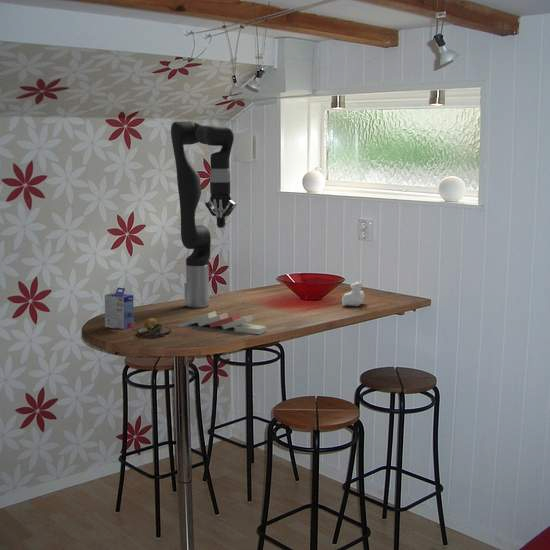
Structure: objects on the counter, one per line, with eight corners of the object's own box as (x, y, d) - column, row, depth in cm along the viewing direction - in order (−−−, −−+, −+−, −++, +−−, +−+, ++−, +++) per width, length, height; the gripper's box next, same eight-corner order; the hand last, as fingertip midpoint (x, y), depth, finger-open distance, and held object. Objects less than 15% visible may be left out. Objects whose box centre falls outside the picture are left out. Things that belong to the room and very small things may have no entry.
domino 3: (222, 324, 270) (244, 317, 265) (229, 321, 274) (252, 314, 269) (223, 329, 270) (246, 322, 265) (231, 326, 274) (253, 319, 269)
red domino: (209, 323, 272) (231, 316, 267) (217, 320, 277) (239, 313, 272) (210, 328, 272) (233, 321, 267) (218, 325, 277) (240, 318, 272)
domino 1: (186, 320, 277) (207, 313, 272) (194, 317, 282) (215, 310, 277) (187, 325, 277) (209, 318, 272) (196, 322, 282) (217, 315, 277)
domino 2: (197, 322, 275) (219, 315, 270) (205, 319, 279) (227, 312, 274) (199, 326, 275) (220, 319, 270) (207, 323, 279) (228, 317, 274)
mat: (175, 327, 276) (175, 325, 276) (193, 321, 286) (193, 320, 286) (244, 336, 263) (244, 334, 263) (260, 329, 272) (260, 328, 272)
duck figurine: (344, 312, 312) (356, 293, 305) (334, 299, 316) (346, 280, 309) (364, 308, 319) (377, 290, 312) (354, 295, 323) (366, 277, 316)
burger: (174, 337, 263) (174, 316, 262) (140, 340, 259) (139, 318, 258) (167, 329, 274) (166, 309, 273) (134, 332, 270) (133, 311, 269)
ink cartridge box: (135, 327, 276) (134, 288, 274) (124, 330, 272) (123, 290, 269) (115, 324, 281) (113, 286, 279) (104, 327, 277) (103, 288, 274)
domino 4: (234, 326, 267) (259, 329, 263) (242, 323, 272) (266, 326, 267) (234, 331, 268) (259, 334, 263) (242, 328, 272) (266, 331, 268)
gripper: (240, 181, 282) (241, 227, 285) (210, 180, 289) (211, 225, 291) (230, 181, 276) (230, 229, 279) (199, 181, 282) (200, 227, 285)
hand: (220, 227), depth 285 cm, fingers closed
